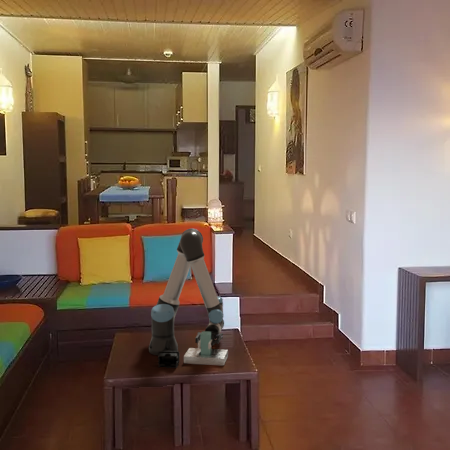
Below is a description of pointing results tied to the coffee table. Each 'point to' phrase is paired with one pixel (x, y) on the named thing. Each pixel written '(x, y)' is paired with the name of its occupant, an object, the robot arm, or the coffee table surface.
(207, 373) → the coffee table surface
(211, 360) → the grey rectangular frame
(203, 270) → the robot arm
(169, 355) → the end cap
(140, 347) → the coffee table surface
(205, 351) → the teal post
